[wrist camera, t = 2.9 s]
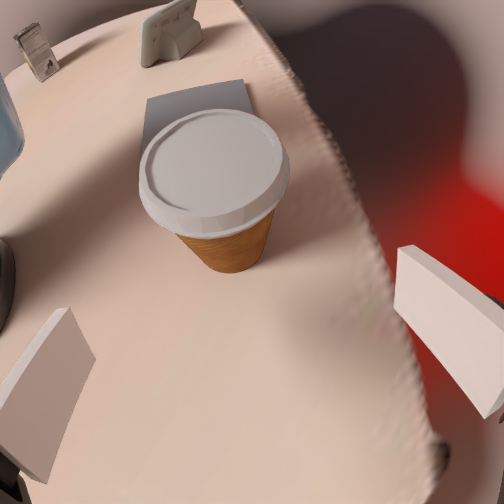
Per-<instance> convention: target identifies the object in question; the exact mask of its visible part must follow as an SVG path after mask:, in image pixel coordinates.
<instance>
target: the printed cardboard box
mask: <svg viewBox="0 0 504 504" xmlns="http://www.w3.org/2000/svg"><path fill="white" fill-rule="evenodd" d="M13 38H14V39H15V41H16V43H17V45H18V46H19V49H20V50H21V52H22V54H23V56H24V58H25V59H26V61H27V63H28V65H29V67H30V68H31V70H32V72H33V73H34V75H35V77H36V78H37V79H38V80H39V81H40V82H41V83H42V82H43V81H45V80H46V79H47V78H48V77H50V76H51V75H52V74H54V73H55V72H56V71H58V70H59V69H60V66H59V64H58V62H57V60H56V58H55V56H54V54H53V52H52V50H51V48H50V46H49V44H48V41H47V39H46V37H45V35H44V33H43V31H42V28H41V26H40V24H39V23H32V24H31V25H29V26H28V27H26V28H25V29H23V30H22V31H21V32H19V33H18V34H16V35H15V36H14V37H13Z"/></svg>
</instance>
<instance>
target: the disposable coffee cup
mask: <svg viewBox="0 0 504 504" xmlns="http://www.w3.org/2000/svg"><path fill="white" fill-rule="evenodd" d="M289 175H290V164H289V158H288V155H287V153H286V150H285V148H284V147H283V145H282V144H281V142H280V140H279V138H278V136H277V134H276V132H275V131H274V130H273V129H272V128H271V127H270V126H269V125H268V124H267V123H266V122H264V121H263V120H261V119H259V118H258V117H256V116H255V115H252V114H249V113H245V112H242V111H239V110H231V109H212V110H204V111H200V112H196V113H192V114H190V115H187V116H185V117H183V118H181V119H178V120H176V121H174V122H172V123H171V124H170V125H168V126H167V127H165V128H164V129H162V130H161V131H160V132H159V133H158V134H157V135H156V136H155V137H154V138H153V139H152V141H151V142H150V143H149V145H148V146H147V148H146V150H145V151H144V154H143V156H142V159H141V162H140V169H139V195H140V198H141V201H142V204H143V206H144V208H145V210H146V211H147V213H148V214H149V215H150V217H151V218H152V219H153V220H154V221H155V222H156V223H157V224H159V225H160V226H162V227H164V228H165V229H167V230H168V231H170V232H173V233H175V234H176V235H177V236H178V237H179V238H180V239H181V240H182V241H183V242H184V243H185V244H186V245H187V246H188V247H189V248H190V249H191V250H192V251H193V252H194V253H195V254H196V255H197V256H198V257H199V258H200V259H201V260H202V261H203V262H204V263H205V264H206V265H207V266H209V267H210V268H211V269H213V270H215V271H218V272H221V273H237V272H240V271H243V270H245V269H247V268H249V267H250V266H252V265H253V264H254V263H255V262H256V261H257V260H258V259H259V257H260V256H261V254H262V252H263V249H264V245H265V241H266V238H267V234H268V231H269V227H270V224H271V220H272V217H273V213H274V209H275V207H276V205H277V204H278V203H279V201H280V200H281V198H282V197H283V195H284V192H285V190H286V187H287V184H288V182H289Z"/></svg>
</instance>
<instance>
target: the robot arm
mask: <svg viewBox="0 0 504 504" xmlns="http://www.w3.org/2000/svg"><path fill="white" fill-rule="evenodd" d="M24 142H25V139H24V132H23V129H22V125H21V123H20V120H19V117H18V115H17V112H16V109H15V107H14V104H13V102H12V99H11V97H10V95H9V92H8V90H7V87H6V85H5V83H4V80H3V78H2V76H1V73H0V180H1V178H2V175H3V174H4V173H5V172H6V170H7V169H8V168H9V167H10V166H11V165H12V164H13V163H14V162H15V161H16V159H17V158H18V157H19V156H20V154H21V153H22V151H23V147H24ZM14 284H15V264H14V258H13V254H12V251H11V249H10V247H9V246H8V245H7V244H6V243H5V242H4V241H2V240H1V239H0V331H1V329H2V327H3V325H4V323H5V321H6V318H7V316H8V313H9V310H10V306H11V302H12V298H13V292H14ZM393 308H394V309H395V310H396V311H397V312H398V313H399V314H400V316H401V317H402V318H403V319H404V320H405V321H406V322H407V324H408V325H409V326H410V327H411V328H412V329H413V330H414V332H415V333H416V334H417V335H418V336H419V337H420V338H421V340H422V341H423V342H424V343H425V344H426V346H427V347H428V348H429V349H430V350H431V351H432V353H433V354H434V355H435V356H436V357H437V359H438V360H439V361H440V362H441V364H442V365H443V366H444V367H445V369H446V370H447V371H448V372H449V373H450V375H451V376H452V377H453V378H454V380H455V381H456V382H457V384H458V385H459V386H460V387H461V389H462V390H463V391H464V392H465V394H466V395H467V396H468V398H469V399H470V400H471V402H472V403H473V404H474V405H475V407H476V408H477V410H478V411H479V412H480V414H481V415H482V417H483V418H484V419H485V418H487V417H488V416H489V415H491V414H492V413H494V412H495V411H496V410H497V409H499V408H500V407H501V406H502V404H503V402H504V304H503V303H501V302H500V301H499V300H497V299H496V298H494V297H492V296H489V295H487V294H485V293H481V292H480V291H479V290H478V289H476V288H475V287H474V286H472V285H471V284H470V283H468V282H467V281H466V280H464V279H462V278H461V277H460V276H459V275H457V274H456V273H454V272H453V271H452V270H450V269H449V268H447V267H446V266H444V265H443V264H441V263H440V262H438V261H437V260H436V259H434V258H433V257H431V256H430V255H428V254H427V253H425V252H424V251H422V250H420V249H419V248H418V247H416V246H414V245H410V246H405V247H400V248H398V256H397V273H396V287H395V298H394V307H393ZM95 360H96V358H95V356H94V355H93V353H92V351H91V349H90V347H89V345H88V344H87V342H86V340H85V338H84V336H83V334H82V332H81V330H80V328H79V326H78V324H77V322H76V320H75V318H74V316H73V314H72V311H71V309H70V307H66V308H59V309H56V310H55V311H54V312H53V314H52V315H51V316H50V317H49V319H48V320H47V321H46V322H45V324H44V325H43V326H42V327H41V329H40V330H39V331H38V333H37V334H36V335H35V337H34V338H33V339H32V341H31V342H30V343H29V345H28V346H27V347H26V349H25V350H24V351H23V353H22V354H21V356H20V357H19V358H18V360H17V361H16V363H15V364H14V366H13V367H12V369H11V370H10V372H9V373H8V374H7V376H6V378H5V379H4V381H3V382H2V384H1V385H0V504H32V503H31V500H30V497H29V494H28V491H27V488H26V484H25V482H24V480H23V478H22V477H21V476H20V475H19V472H20V470H21V471H22V472H24V473H25V474H26V475H27V476H28V477H30V478H31V479H33V480H36V481H38V482H41V483H44V484H47V482H48V479H49V476H50V473H51V469H52V466H53V463H54V460H55V458H56V455H57V452H58V449H59V446H60V443H61V441H62V438H63V435H64V433H65V430H66V427H67V425H68V422H69V420H70V417H71V415H72V412H73V410H74V408H75V405H76V403H77V400H78V398H79V396H80V393H81V391H82V389H83V386H84V384H85V382H86V380H87V377H88V375H89V373H90V371H91V369H92V367H93V364H94V362H95ZM503 421H504V413H503V414H502V416H501V417H500V421H499V423H502V422H503ZM497 504H504V471H503V477H502V483H501V488H500V493H499V498H498V502H497Z"/></svg>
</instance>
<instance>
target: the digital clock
mask: <svg viewBox="0 0 504 504" xmlns="http://www.w3.org/2000/svg"><path fill="white" fill-rule="evenodd" d="M196 3H197V0H175V1H173V2H171V3H169V4H167V5H166V6H164V7H162V8H161V9H159V10H157V11H156V12H154V13H152V14H151V15H149V16H148V17H146V18H145V19H143V20H142V22H141V27H140V46H139V62H140V65H141V67H149V66H151V65H152V64H154V63H155V62H156V61H157V60H180V59H181V58H182V57H183V56H184V55H186V54H187V53H188V52H189V51H190V50H191V49H192V48H194V47H195V46H196V45H197V44H198V43H199V42H201V41H202V40H203V38H202V32H201V27H200V23H199V22H198V21H196V20H194V19H193V16H194V11H195V7H196Z"/></svg>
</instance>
